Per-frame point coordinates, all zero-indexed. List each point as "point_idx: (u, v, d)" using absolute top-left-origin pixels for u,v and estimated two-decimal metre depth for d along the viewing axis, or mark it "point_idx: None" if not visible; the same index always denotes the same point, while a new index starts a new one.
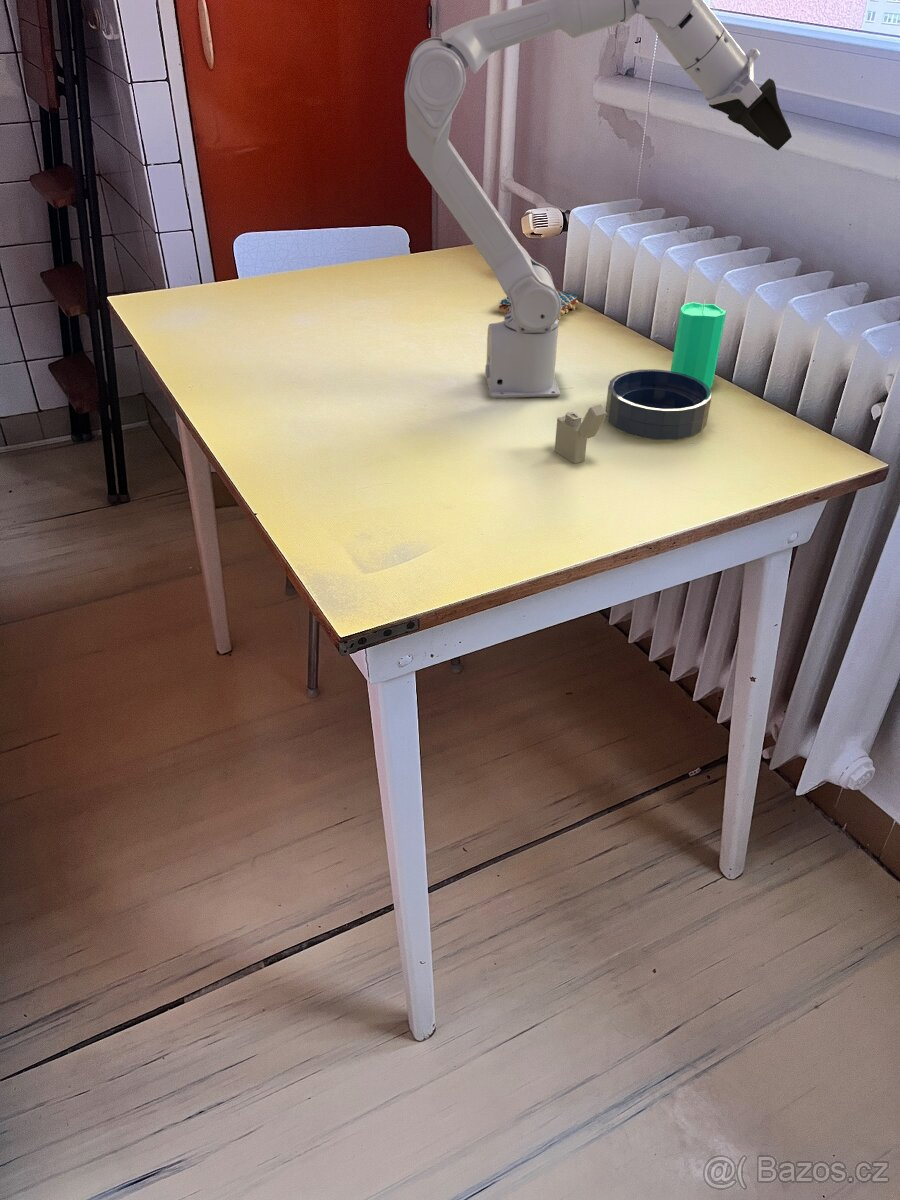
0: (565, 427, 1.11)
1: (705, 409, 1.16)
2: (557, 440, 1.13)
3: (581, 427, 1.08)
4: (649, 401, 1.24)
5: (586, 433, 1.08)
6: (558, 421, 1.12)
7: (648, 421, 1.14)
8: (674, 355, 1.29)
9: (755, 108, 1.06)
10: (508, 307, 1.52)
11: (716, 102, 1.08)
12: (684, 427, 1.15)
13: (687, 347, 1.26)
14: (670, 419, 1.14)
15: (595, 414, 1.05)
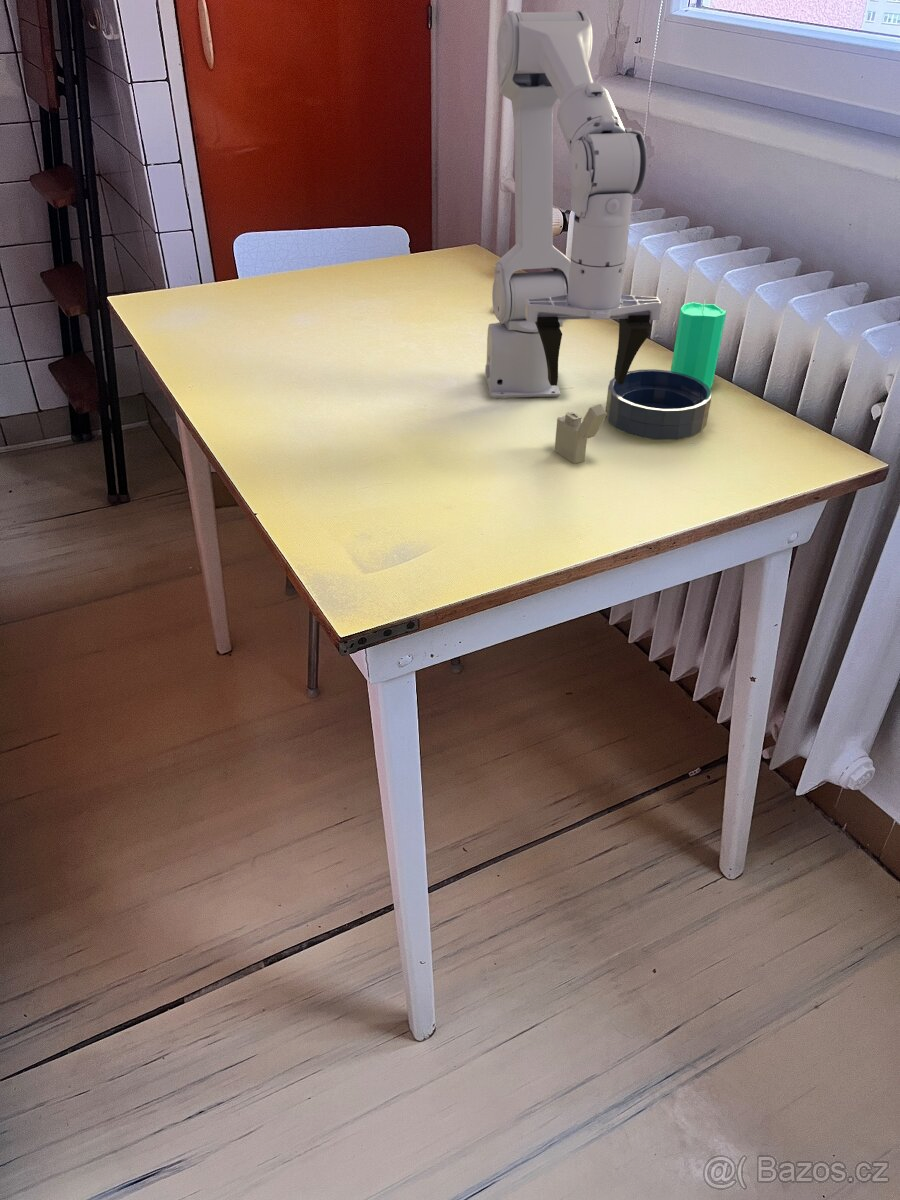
0: (565, 427, 1.11)
1: (705, 409, 1.16)
2: (557, 440, 1.13)
3: (581, 427, 1.08)
4: (649, 401, 1.24)
5: (586, 433, 1.08)
6: (558, 421, 1.12)
7: (648, 421, 1.14)
8: (674, 355, 1.29)
9: None
10: None
11: None
12: (684, 427, 1.15)
13: (687, 347, 1.26)
14: (670, 419, 1.14)
15: (595, 414, 1.05)
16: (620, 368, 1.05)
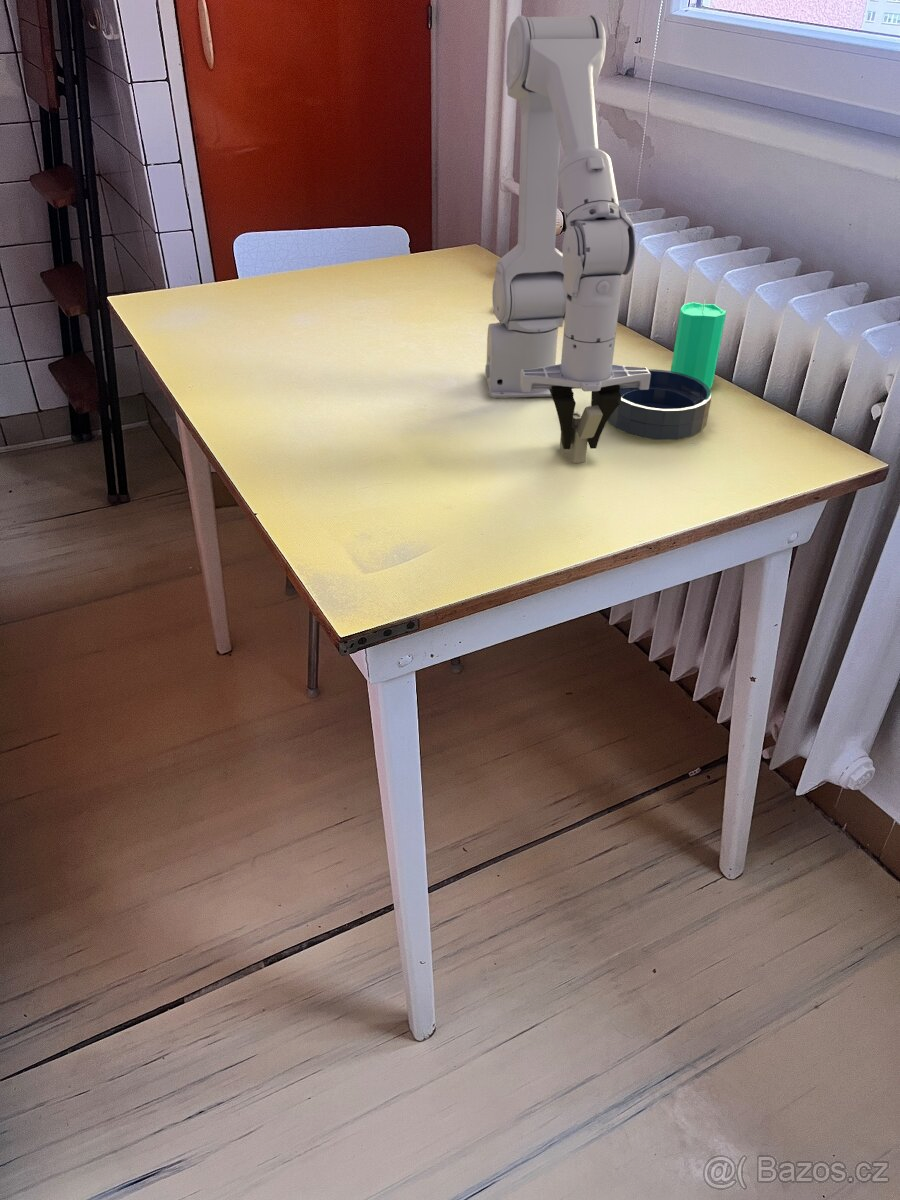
0: None
1: (705, 409, 1.16)
2: None
3: (579, 427, 1.08)
4: (649, 401, 1.24)
5: (582, 433, 1.07)
6: None
7: (648, 421, 1.14)
8: (674, 355, 1.29)
9: None
10: None
11: None
12: (684, 427, 1.15)
13: (687, 347, 1.26)
14: (670, 419, 1.14)
15: (589, 414, 1.05)
16: None
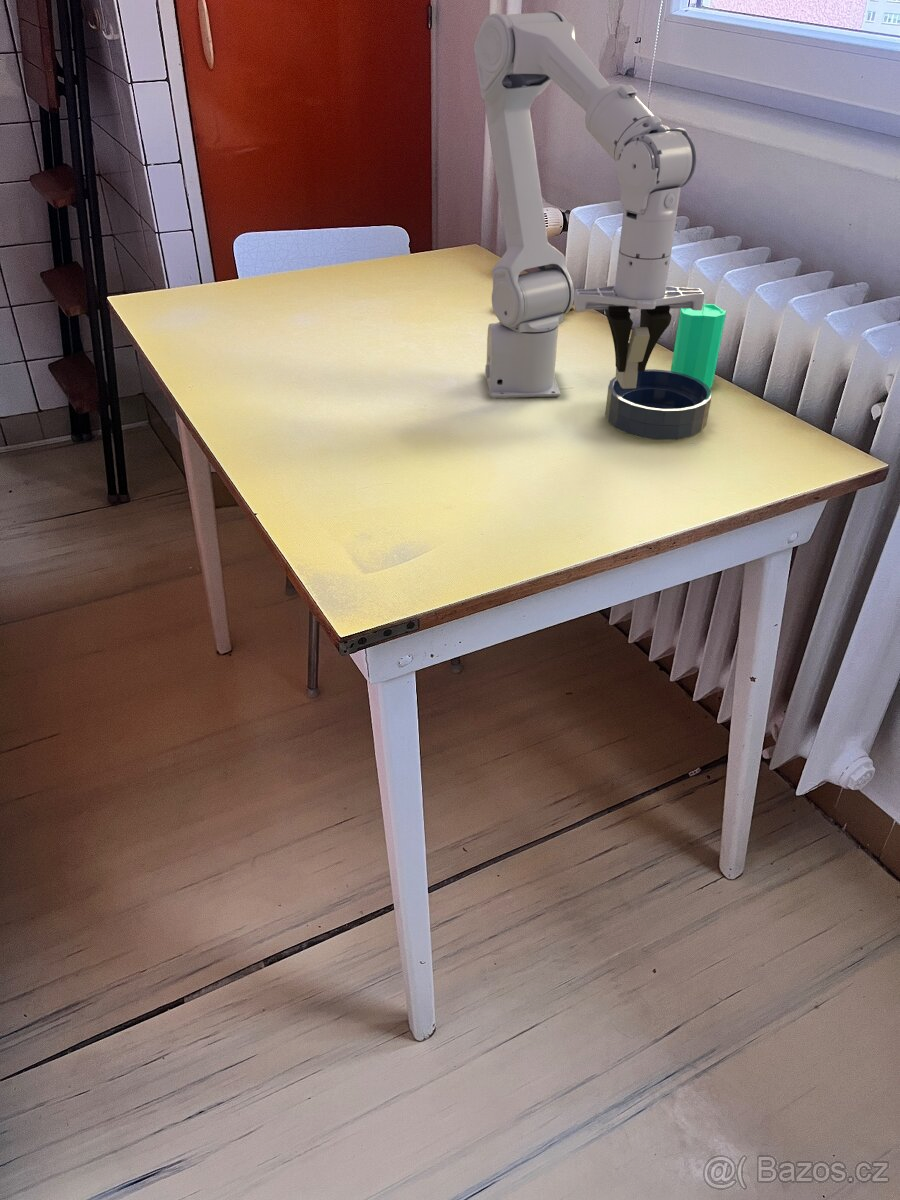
0: None
1: (705, 409, 1.16)
2: None
3: (628, 349, 1.09)
4: (649, 401, 1.24)
5: (630, 355, 1.08)
6: None
7: (648, 421, 1.14)
8: (674, 355, 1.29)
9: None
10: None
11: None
12: (684, 427, 1.15)
13: (687, 347, 1.26)
14: (670, 419, 1.14)
15: (635, 334, 1.05)
16: None
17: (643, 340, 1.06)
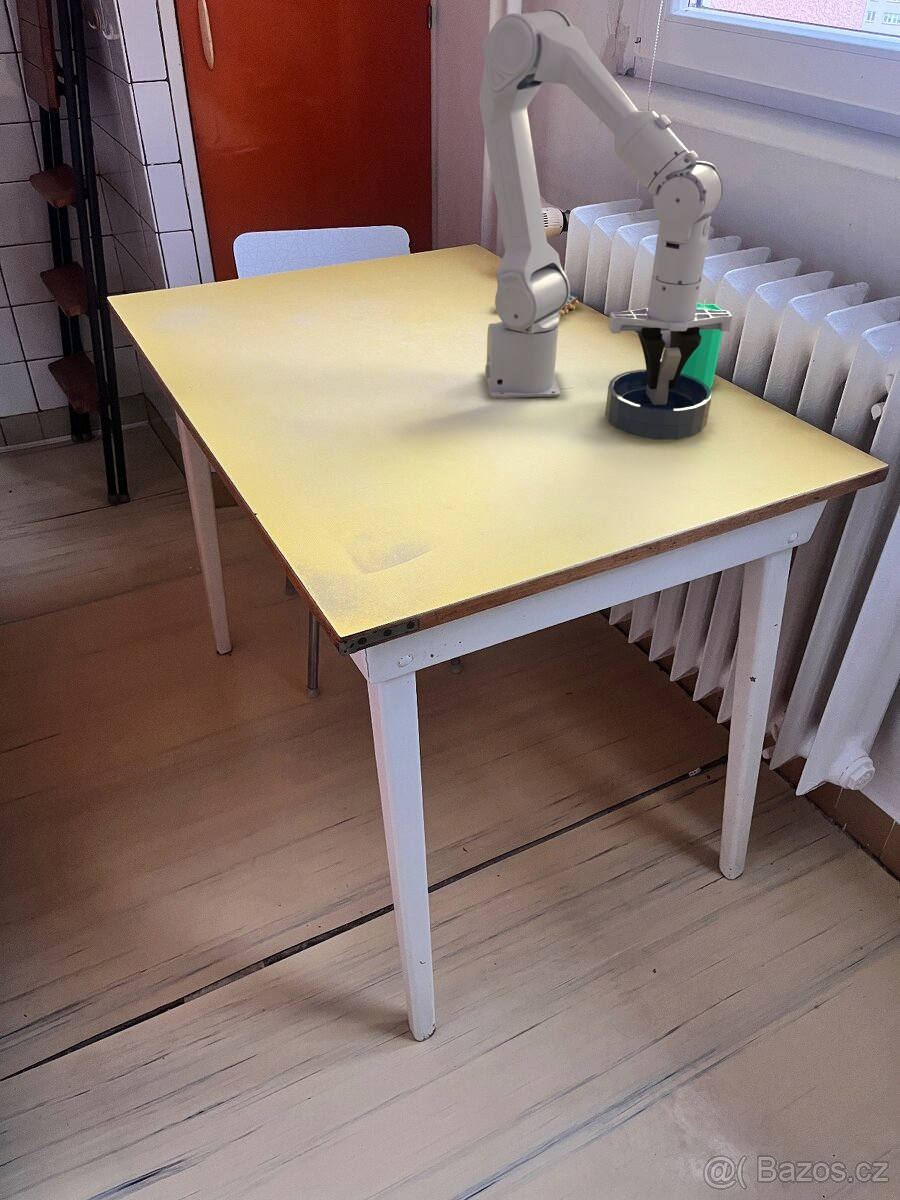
0: None
1: (705, 409, 1.16)
2: None
3: (660, 368, 1.15)
4: (649, 401, 1.24)
5: (662, 373, 1.14)
6: None
7: (648, 421, 1.14)
8: None
9: None
10: None
11: None
12: (684, 427, 1.15)
13: None
14: (670, 419, 1.14)
15: (668, 354, 1.12)
16: None
17: (675, 360, 1.12)
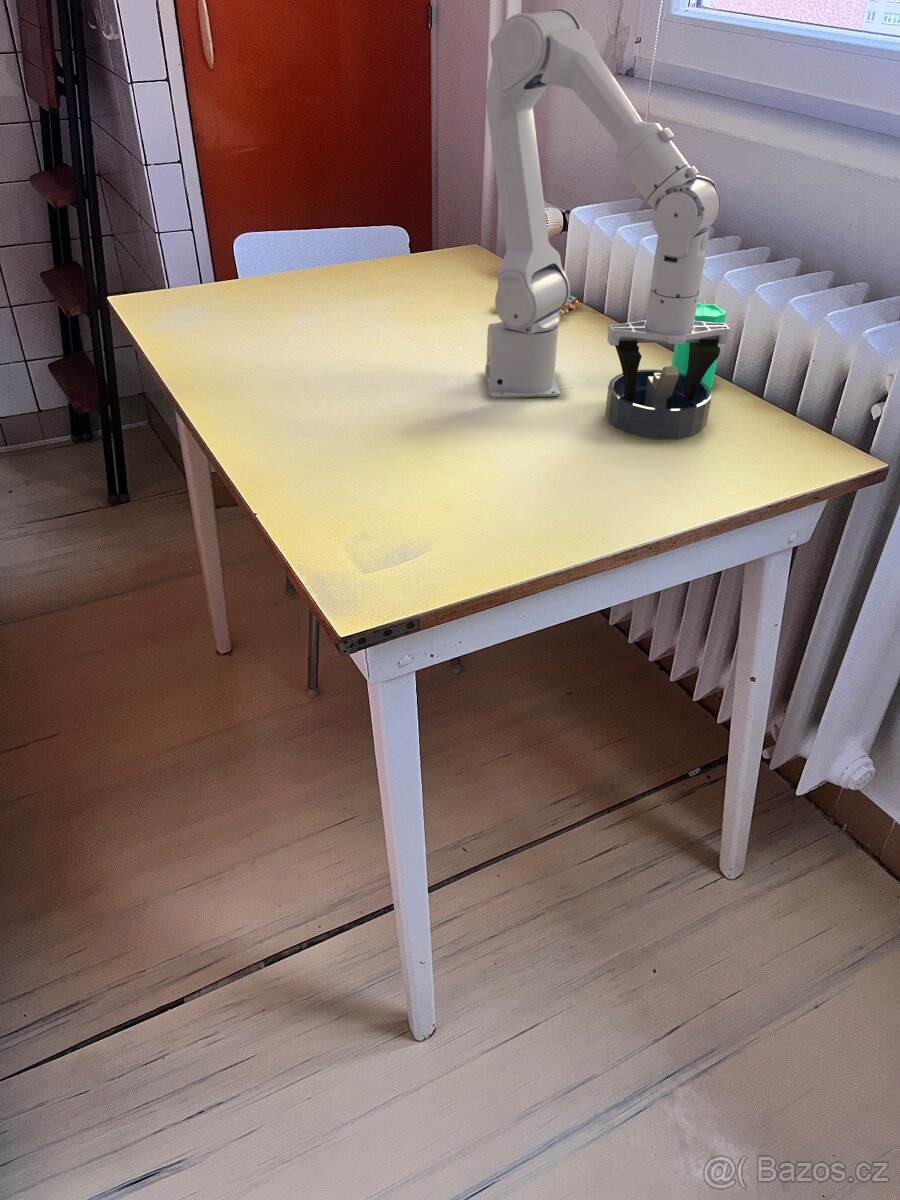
0: (650, 385, 1.19)
1: (705, 409, 1.16)
2: (646, 397, 1.22)
3: (657, 386, 1.16)
4: None
5: (659, 391, 1.16)
6: (648, 379, 1.20)
7: (648, 421, 1.14)
8: (674, 355, 1.29)
9: None
10: None
11: None
12: (684, 427, 1.15)
13: (687, 347, 1.26)
14: (670, 419, 1.14)
15: (665, 373, 1.13)
16: (690, 386, 1.17)
17: (672, 379, 1.14)
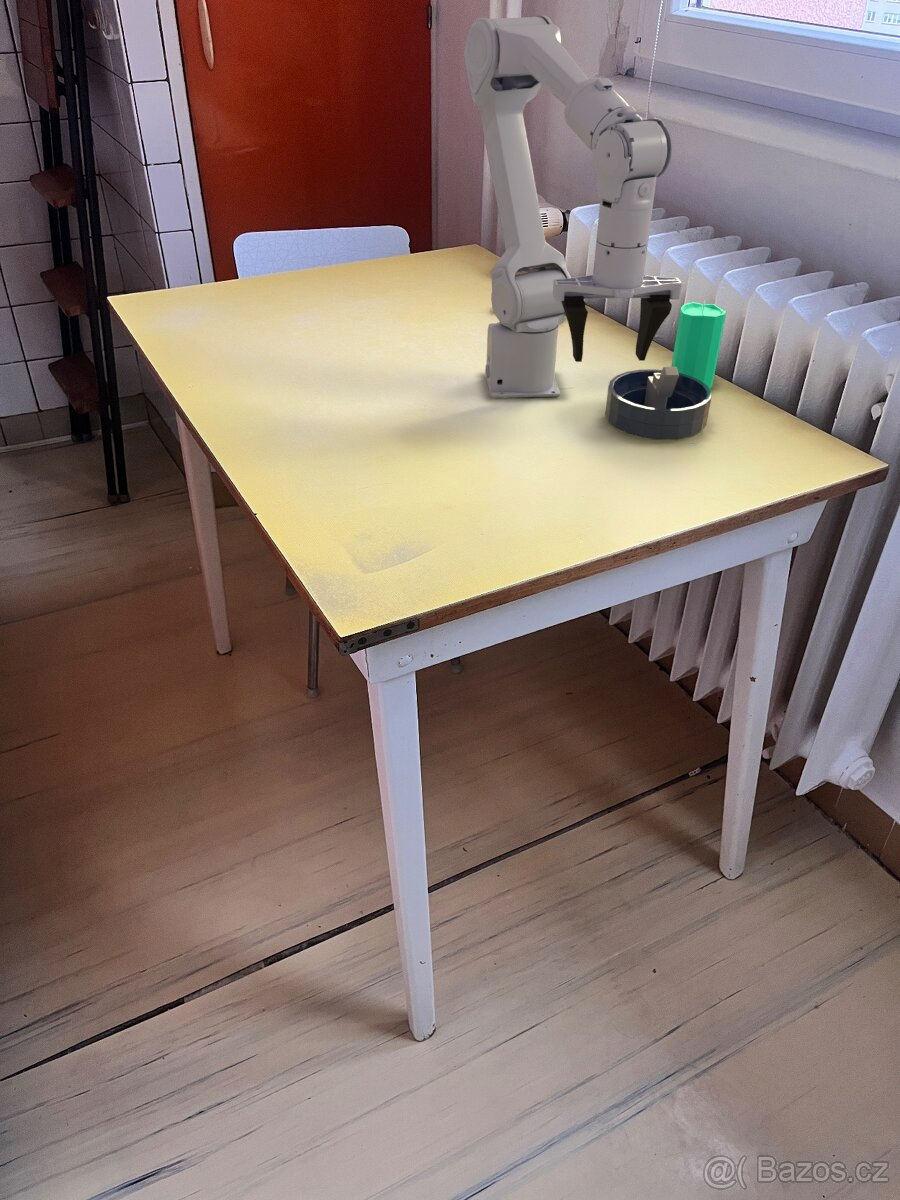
0: (650, 385, 1.19)
1: (705, 409, 1.16)
2: (646, 397, 1.22)
3: (657, 386, 1.16)
4: None
5: (659, 391, 1.16)
6: (648, 379, 1.20)
7: (648, 421, 1.14)
8: (674, 355, 1.29)
9: None
10: None
11: None
12: (684, 427, 1.15)
13: (687, 347, 1.26)
14: (670, 419, 1.14)
15: (665, 373, 1.13)
16: (641, 345, 1.11)
17: (672, 379, 1.14)
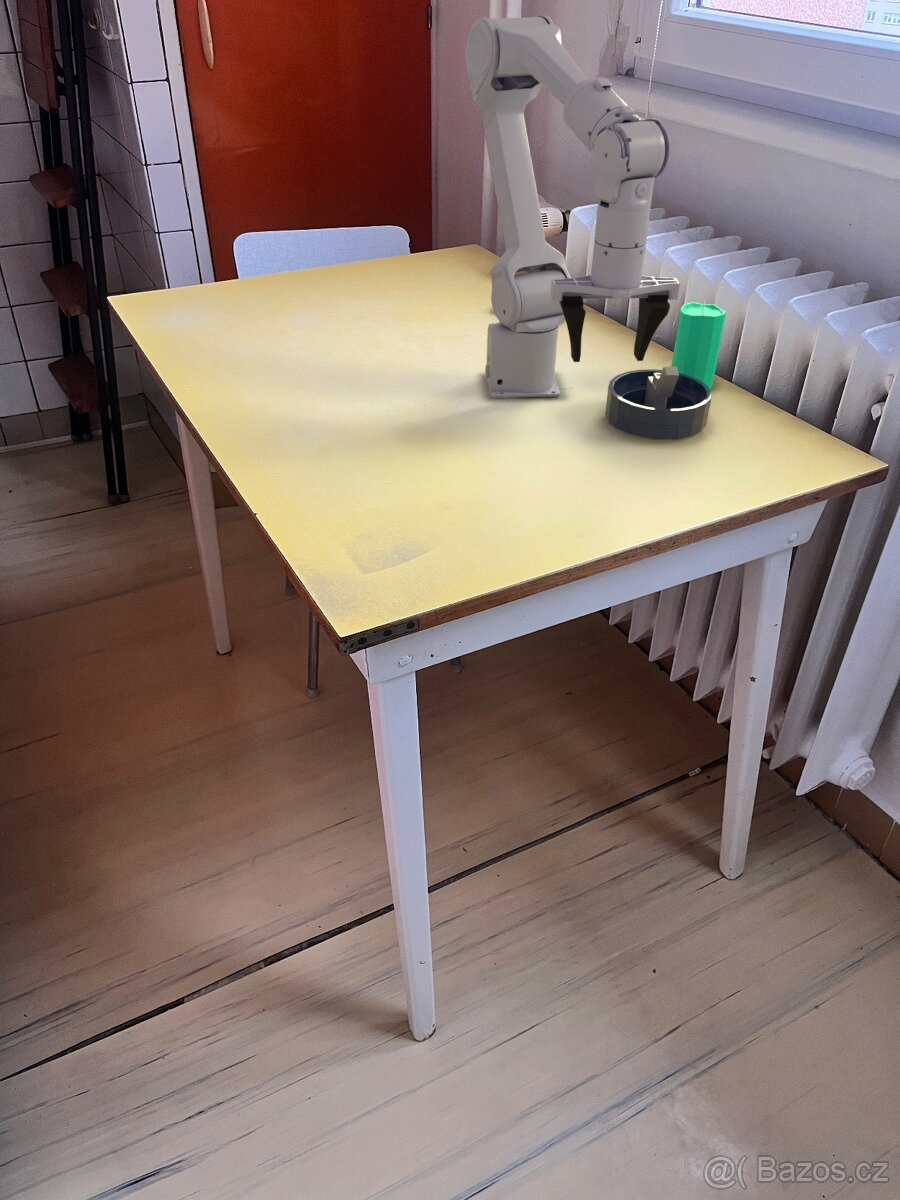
0: (650, 385, 1.19)
1: (705, 409, 1.16)
2: (646, 397, 1.22)
3: (657, 386, 1.16)
4: None
5: (659, 391, 1.16)
6: (648, 379, 1.20)
7: (648, 421, 1.14)
8: (674, 355, 1.29)
9: None
10: None
11: None
12: (684, 427, 1.15)
13: (687, 347, 1.26)
14: (670, 419, 1.14)
15: (665, 373, 1.13)
16: (640, 346, 1.11)
17: (672, 379, 1.14)
